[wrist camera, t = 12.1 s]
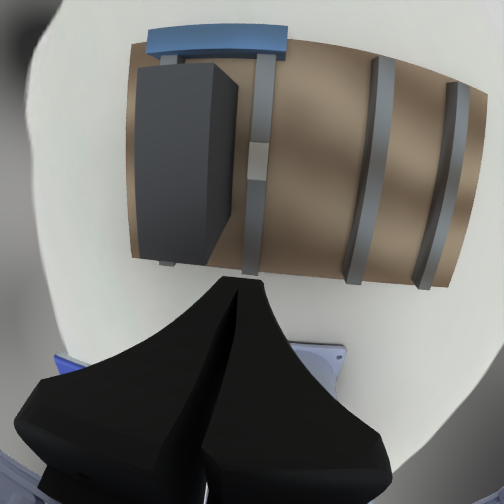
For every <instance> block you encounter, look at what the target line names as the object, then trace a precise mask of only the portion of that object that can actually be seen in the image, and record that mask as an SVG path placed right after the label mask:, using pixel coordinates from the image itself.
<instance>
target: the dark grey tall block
mask: <svg viewBox="0 0 504 504" xmlns="http://www.w3.org/2000/svg"><path fill="white" fill-rule="evenodd" d="M238 91H239V86H238V85H237V84H236V83H235V82H234V81H233V80H232V79H231V78H230V77H229V76H228V75H227V74H226V73H225V72H224V71H223V70H222V69H220V68H219V67H218V66H217V65H216V64H215V63H186V64H170V65H158V66H148V67H140V68H138V72H137V85H136V102H135V131H134V171H135V201H136V219H137V233H138V245H139V256H140V258H141V259H149V260H158V261H167V262H175V263H184V264H193V265H203V266H206V265H207V263H208V261H209V258H210V256H211V254H212V252H213V250H214V248H215V246H216V244H217V242H218V240H219V238H220V236H221V234H222V232H223V230H224V228H225V226H226V224H227V222H228V220H229V218H230V216H231V206H232V187H233V168H234V151H235V135H236V120H237V105H238Z"/></svg>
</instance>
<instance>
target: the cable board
mask: <svg viewBox="0 0 504 504" xmlns="http://www.w3.org/2000/svg"><path fill="white" fill-rule="evenodd" d="M287 32H288V26H281V25H267V24H201V25H186V26H175V27H166V28H158V29H151V30H148V38H147V42H143V43H136V44H132V46H131V55H130V66H129V78H128V92H127V113H126V182H127V204H128V219H129V232H130V243H131V253H132V258H140V256H139V245H138V233H137V219H136V201H135V171H134V131H135V102H136V85H137V72H138V68H140V67H148V66H158V65H170V64H186V63H215V64H216V65H217V66H218V67H219V68H220V69H222V70H223V71H224V72H225V73H226V74H227V75H228V76H229V77H230V78H231V79H232V80H233V81H234V82H235V83H236V84H237V85H238V86H239V91H238V105H237V120H236V135H235V151H234V168H233V187H232V206H231V216H230V218H229V220H228V222H227V224H226V226H225V228H224V230H223V232H222V234H221V236H220V238H219V240H218V242H217V244H216V246H215V248H214V250H213V252H212V254H211V256H210V258H209V261H208V263H207V265H206V266H211V267H220V268H229V269H239V270H242V274H246V275H255V276H258V272H269V273H279V274H289V275H300V276H311V277H322V278H333V279H344V280H345V282H346V284H354V285H361V282H362V281H368V282H380V283H393V284H406V285H416V287H417V288H418V289H421V290H430V288H431V286H433V287H448V286H449V283H450V281H451V278H452V275H453V272H454V269H455V266H456V263H457V260H458V257H459V254H460V251H461V248H462V244H463V241H464V237H465V234H466V230H467V227H468V223H469V219H470V215H471V211H472V207H473V202H474V198H475V193H476V188H477V183H478V178H479V172H480V166H481V160H482V153H483V146H484V137H485V127H486V115H487V97H488V94H486V93H484V92H482V91H480V90H478V89H476V88H473V87H471V86H469V85H467V84H464V83H462V82H460V81H457V80H455V79H452V78H450V77H447V76H445V75H442V74H439V73H437V72H434V71H431V70H428V69H426V68H423V67H420V66H417V65H414V64H410V63H407V62H404V61H400V60H397V59H393V58H390V57H386V56H382V55H378V54H374V53H370V52H366V51H361V50H357V49H352V48H347V47H342V46H336V45H330V44H324V43H317V42H310V41H302V40H293V39H287ZM140 259H141V258H140ZM157 261H158V260H157ZM175 264H176V263H175V262H167V261H159V265H164V266H173V267H174V265H175ZM183 264H184V263H183ZM192 265H193V264H192ZM201 266H203V265H201Z"/></svg>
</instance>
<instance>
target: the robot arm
mask: <svg viewBox="0 0 504 504" xmlns="http://www.w3.org/2000/svg"><path fill="white" fill-rule="evenodd" d="M338 355H341V356H338ZM345 355H346V348H345V347H344V346H329V345H311V344H297V343H289V342H288V341H287V339H286V337H285V335H284V334H283V332H282V330H281V328H280V326H279V324H278V323H277V321H276V318H275V316H274V314H273V312H272V310H271V307H270V305H269V302H268V299H267V296H266V293H265V289H264V283H263V282H262V281H261V280H257V279H247V278H237V277H228V276H222V277H221V278H220V279H219V280H218V281H217V282H216V283H215V284H214V285H213V286H212V287H211V288H210V289H209V290H208V291H207V292H206V293H205V294H204V295H203V296H202V297H201V298H200V299H199V300H198V301H197V302H195V303H194V304H193V305H192V306H191V307H190V308H189V309H188V310H187V311H185V312H184V313H183V314H182V315H180V316H179V317H178V318H177V319H175V320H174V321H173V322H172V323H170V324H169V325H168V326H166V327H165V328H163V329H162V330H161V331H159V332H158V333H156V334H154V335H153V336H151V337H150V338H148V339H146V340H145V341H143V342H141V343H139V344H137V345H135V346H133V347H131V348H129V349H127V350H125V351H124V352H122V353H120V354H118V355H115V356H113V357H111V358H108V359H106V360H104V361H101V362H99V363H96V364H93V365H91V366H88V367H85V368H82V369H79V370H76V371H72V372H69V373H65V374H61V375H58V376H54V377H50V378H46V379H42V380H40V382H39V383H38V384H37V386H36V387H35V389H34V390H33V392H32V393H31V395H30V396H29V398H28V399H27V401H26V402H25V404H24V405H23V407H22V408H21V410H20V411H19V413H18V414H17V416H16V418H15V419H14V427H15V429H16V431H17V433H18V434H19V436H20V437H21V438H22V440H23V441H24V442H25V443H26V444H27V445H28V446H29V447H30V448H31V449H32V450H33V451H34V452H35V453H36V455H37V456H39V457H40V459H41V460H42V461H44V462H45V463H46V464H47V467H46V469H45V471H44V474H43V476H40V475H38V474H36V473H35V472H33V471H31V470H30V469H28V468H26V467H25V466H23V465H22V464H20V463H19V462H17V461H16V460H14V459H13V458H11V457H10V456H8V455H7V454H5V453H4V452H2V451H1V450H0V504H45V502H46V503H47V504H204V497H205V490H206V483H207V485H208V488H207V493H206V501H205V504H373V499H375V498H376V497H377V496H379V495H380V494H381V493H383V492H384V491H385V490H386V488H387V487H388V486H389V485H390V484H391V483H392V471H391V466H390V461H389V458H388V455H387V452H386V449H385V446H384V444H383V441H382V438H381V436H380V434H379V433H378V432H376V431H375V430H374V429H372V428H371V427H370V426H368V425H367V424H365V423H364V422H363V421H361V420H360V419H359V418H357V417H356V416H355V415H353V414H352V413H351V412H349V411H348V410H347V409H346V408H345V407H344V406H343V405H341V404H340V403H339V402H338V401H337V397H336V390H335V382H336V379H337V377H338V374H339V371H340V369H341V366H342V363H343V361H344V358H345ZM337 356H338V357H337ZM473 504H504V487H503V488H501V489H500V490H499V491H498V492H496V493H494V494H492V495H490V496H488V497H486V498H484V499H482V500H479V501H477V502H475V503H473Z"/></svg>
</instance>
